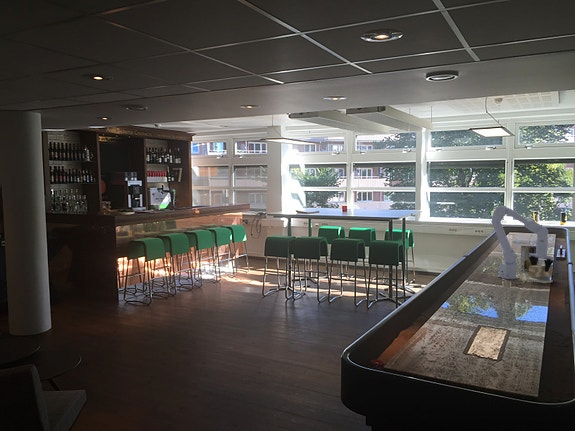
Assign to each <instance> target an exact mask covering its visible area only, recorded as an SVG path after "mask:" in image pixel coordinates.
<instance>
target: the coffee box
mask: <svg viewBox="0 0 575 431" xmlns="http://www.w3.org/2000/svg"><path fill="white" fill-rule="evenodd" d="M529 253H533V254H536V245H521V246H520V263H519V267H520V269H522V270H524V271H523V272H529V266H532V264H531V261H530V259H529V258H530V257H529ZM539 259H540V258H538V261H537V265H539ZM522 270H521V271H522Z"/></svg>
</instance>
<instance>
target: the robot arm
mask: <svg viewBox="0 0 575 431" xmlns="http://www.w3.org/2000/svg"><path fill="white" fill-rule="evenodd" d="M492 213H493V214H492V216H491V217H492V218H491V225H492V227H493V229H494V231H495V234H496V237H497V239H498V242H499V244H500V246H501V248H502V253H503V260H504V261H503V262H502V263H500V264H499V266H498V275H497V278H498V277H499V278H502V279H505V280H510V279H511V280H513V279H516V280H517V279H520V277H518V276H517V268H518V266H517V264H518V262H516V260H517V258H518V255H517V253H516V252H515V251H514V249H513V248H512V246H511V244H510V242H509V239H508V236H507V234H506V232H505V229H504V227H503V224H502V221H503V218H504V217H505V216H506V217H510V218H511V217H512V218H514V219H515V220H517V221H519V222H520V223H522V224H524V225H523V226H524V228H526V229H528V230H529V231H531V232H532V233H533V234H536V235H537V237H536V238H537V239H536V244H535V246H536V254H533V253H529V257H530V258H529V259H530V261H531V264H532V266H535V265H537V261H538V262H539V259H542V260H543V262H544V265H545V272H548V271H549V268H550V266H551V265H553V263H554V261H555V256H552V255H548V246H549V244H548V243H549V241H548V239H549V237H548V235H549V230H548V228H547V227H546V226H543V225H542V224H540V223H539V222H537V221H536V220H535V219H534V218H533V219H531V218H530V219H527V218H526V217H524V216H523V215H521V214H520V213H518V212H517V211H516V210H514V209H512V208H510V207H507V206H506V205H498V206H496V207H495V209H494V211H493V212H492ZM538 258H539V259H538Z"/></svg>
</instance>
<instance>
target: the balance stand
mask: <svg viewBox="0 0 575 431" xmlns="http://www.w3.org/2000/svg"><path fill="white" fill-rule="evenodd" d="M527 280H528V281H532V282H537V283H542V284H547V283H553V280H552V279H551V277H550V276H542V277H528V278H527Z"/></svg>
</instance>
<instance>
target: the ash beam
mask: <svg viewBox="0 0 575 431" xmlns="http://www.w3.org/2000/svg"><path fill="white" fill-rule="evenodd" d="M542 276H546V277H550V276H553V264H551V266H550V268H549V271H548V272H545V264H538V265H535V266H529V271H528V277H529V278H531V277H542Z"/></svg>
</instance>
